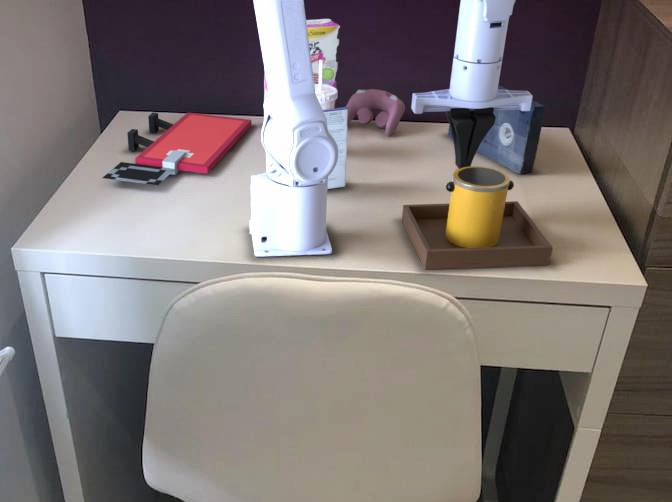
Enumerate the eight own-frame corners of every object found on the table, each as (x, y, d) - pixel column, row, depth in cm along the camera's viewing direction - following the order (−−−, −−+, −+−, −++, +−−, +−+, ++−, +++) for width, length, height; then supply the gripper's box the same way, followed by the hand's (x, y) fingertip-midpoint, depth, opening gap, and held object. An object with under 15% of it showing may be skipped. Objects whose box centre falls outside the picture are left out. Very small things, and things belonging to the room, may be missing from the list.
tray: (424, 269, 99) (426, 251, 98) (401, 221, 110) (403, 204, 108) (549, 265, 100) (553, 247, 99) (514, 217, 111) (517, 201, 109)
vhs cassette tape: (534, 172, 124) (547, 105, 118) (517, 175, 123) (530, 107, 117) (461, 133, 137) (470, 70, 131) (446, 135, 136) (454, 73, 130)
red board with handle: (90, 182, 119) (190, 196, 116) (88, 163, 117) (189, 176, 114) (167, 118, 142) (251, 128, 139) (166, 101, 141) (251, 111, 138)
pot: (435, 258, 107) (457, 239, 97) (430, 179, 108) (452, 152, 97) (498, 256, 107) (527, 237, 97) (493, 178, 108) (521, 151, 98)
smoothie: (331, 162, 126) (336, 67, 118) (290, 158, 127) (291, 64, 119) (337, 147, 131) (342, 55, 123) (297, 144, 132) (299, 52, 124)
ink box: (340, 182, 120) (344, 101, 113) (346, 188, 118) (351, 107, 112) (264, 191, 117) (263, 109, 111) (269, 198, 116) (269, 115, 109)
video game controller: (399, 140, 138) (411, 97, 137) (390, 135, 134) (402, 91, 133) (347, 129, 143) (358, 87, 141) (336, 124, 139) (347, 81, 137)
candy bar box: (271, 135, 136) (272, 29, 126) (263, 125, 140) (262, 21, 130) (336, 128, 138) (341, 24, 129) (325, 118, 142) (330, 16, 133)
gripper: (526, 47, 103) (507, 153, 111) (410, 49, 102) (400, 156, 110) (546, 63, 97) (525, 173, 105) (423, 65, 96) (412, 177, 104)
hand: (462, 166), depth 107 cm, fingers closed
